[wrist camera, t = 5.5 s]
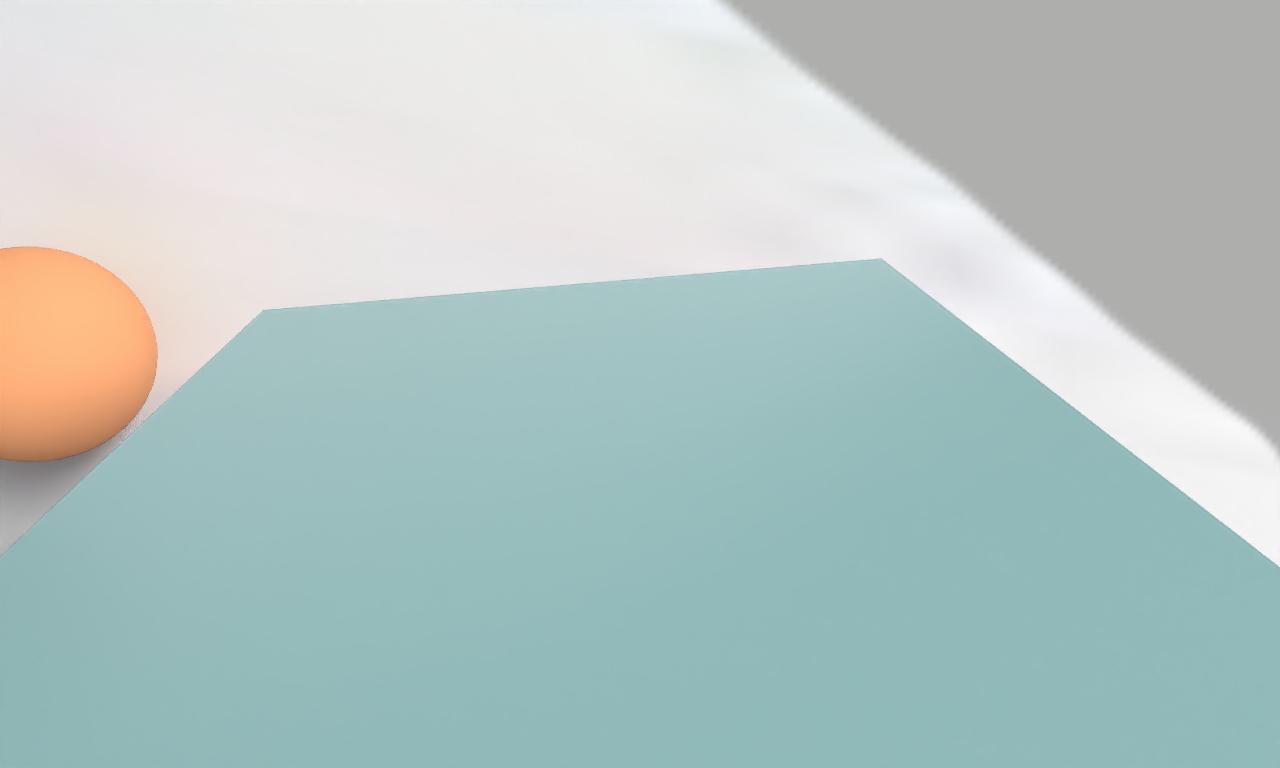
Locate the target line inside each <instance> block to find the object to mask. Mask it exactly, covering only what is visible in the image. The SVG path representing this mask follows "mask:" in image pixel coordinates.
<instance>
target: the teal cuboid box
mask: <svg viewBox="0 0 1280 768" xmlns="http://www.w3.org/2000/svg"><path fill="white" fill-rule="evenodd" d="M0 768H1280V567H1279V566H1277V565H1276V564H1275V563H1274V562H1272V561H1271V560H1270V559H1268V558H1267V557H1266V556H1264V555H1263V554H1262V553H1261V552H1259V551H1258V550H1257V549H1255V548H1254V547H1253V546H1252V545H1250V544H1249V543H1248V542H1246V541H1245V540H1244V539H1243V538H1241V537H1240V536H1239V535H1237V534H1236V533H1235V532H1234V531H1232V530H1231V529H1230V528H1228V527H1227V526H1226V525H1224V524H1223V523H1222V522H1221V521H1219V520H1218V519H1217V518H1215V517H1214V516H1213V515H1212V514H1210V513H1209V512H1208V511H1206V510H1205V509H1204V508H1203V507H1201V506H1200V505H1199V504H1197V503H1196V502H1195V501H1194V500H1192V499H1191V498H1190V497H1188V496H1187V495H1186V494H1184V493H1183V492H1182V491H1181V490H1179V489H1178V488H1177V487H1175V486H1174V485H1173V484H1172V483H1170V482H1169V481H1168V480H1166V479H1165V478H1164V477H1163V476H1161V475H1160V474H1159V473H1157V472H1156V471H1155V470H1154V469H1152V468H1151V467H1150V466H1148V465H1147V464H1146V463H1144V462H1143V461H1142V460H1141V459H1139V458H1138V457H1137V456H1135V455H1134V454H1133V453H1132V452H1130V451H1129V450H1128V449H1126V448H1125V447H1124V446H1123V445H1121V444H1120V443H1119V442H1117V441H1116V440H1115V439H1114V438H1112V437H1111V436H1110V435H1108V434H1107V433H1106V432H1104V431H1103V430H1102V429H1101V428H1099V427H1098V426H1097V425H1095V424H1094V423H1093V422H1092V421H1090V420H1089V419H1088V418H1086V417H1085V416H1084V415H1083V414H1081V413H1080V412H1079V411H1077V410H1076V409H1075V408H1074V407H1072V406H1071V405H1070V404H1068V403H1067V402H1066V401H1064V400H1063V399H1062V398H1061V397H1059V396H1058V395H1057V394H1055V393H1054V392H1053V391H1052V390H1050V389H1049V388H1048V387H1046V386H1045V385H1044V384H1043V383H1041V382H1040V381H1039V380H1037V379H1036V378H1035V377H1034V376H1032V375H1031V374H1030V373H1028V372H1027V371H1026V370H1024V369H1023V368H1022V367H1021V366H1019V365H1018V364H1017V363H1015V362H1014V361H1013V360H1012V359H1010V358H1009V357H1008V356H1006V355H1005V354H1004V353H1003V352H1001V351H1000V350H999V349H997V348H996V347H995V346H993V345H992V344H991V343H990V342H988V341H987V340H986V339H984V338H983V337H982V336H981V335H979V334H978V333H977V332H975V331H974V330H973V329H972V328H970V327H969V326H968V325H966V324H965V323H964V322H963V321H961V320H960V319H959V318H957V317H956V316H955V315H953V314H952V313H951V312H950V311H948V310H947V309H946V308H944V307H943V306H942V305H941V304H939V303H938V302H937V301H935V300H934V299H933V298H932V297H930V296H929V295H928V294H926V293H925V292H924V291H923V290H921V289H920V288H919V287H917V286H916V285H915V284H913V283H912V282H911V281H910V280H908V279H907V278H906V277H904V276H903V275H902V274H901V273H899V272H898V271H897V270H895V269H894V268H893V267H892V266H890V265H889V264H888V263H886V262H885V261H884V260H883V259H872V260H860V261H848V262H836V263H824V264H812V265H800V266H788V267H776V268H764V269H752V270H740V271H728V272H716V273H704V274H692V275H680V276H668V277H656V278H644V279H632V280H620V281H608V282H596V283H584V284H572V285H560V286H548V287H536V288H524V289H512V290H500V291H488V292H476V293H464V294H452V295H440V296H428V297H416V298H404V299H392V300H380V301H368V302H356V303H344V304H332V305H320V306H308V307H296V308H284V309H272V310H263V311H262V312H261V313H260V314H259V315H258V316H257V317H256V318H254V319H253V320H252V321H251V322H250V323H249V324H248V325H247V326H246V327H245V328H244V329H243V330H242V331H241V332H240V333H238V334H237V335H236V336H235V337H234V338H233V339H232V340H231V341H230V342H229V343H228V344H227V345H226V346H225V347H223V348H222V349H221V350H220V351H219V352H218V353H217V354H216V355H215V356H214V357H213V358H212V359H211V360H210V361H209V362H207V363H206V364H205V365H204V366H203V367H202V368H201V369H200V370H199V371H198V372H197V373H196V374H195V375H194V376H192V377H191V378H190V379H189V380H188V381H187V382H186V383H185V384H184V385H183V386H182V387H181V388H180V389H179V390H178V391H176V392H175V393H174V394H173V395H172V396H171V397H170V398H169V399H168V400H167V401H166V402H165V403H164V404H163V405H161V406H160V407H159V408H158V409H157V410H156V411H155V412H154V413H153V414H152V415H151V416H150V417H149V418H148V419H147V420H145V421H144V422H143V423H142V424H141V425H140V426H139V427H138V428H137V429H136V430H135V431H134V432H133V433H132V434H130V435H129V436H128V437H127V438H126V439H125V440H124V441H123V442H122V443H121V444H120V445H119V446H118V447H117V448H116V449H114V450H113V451H112V452H111V453H110V454H109V455H108V456H107V457H106V458H105V459H104V460H103V461H102V462H101V463H99V464H98V465H97V466H96V467H95V468H94V469H93V470H92V471H91V472H90V473H89V474H88V475H87V476H86V477H85V478H83V479H82V480H81V481H80V482H79V483H78V484H77V485H76V486H75V487H74V488H73V489H72V490H71V491H70V492H68V493H67V494H66V495H65V496H64V497H63V498H62V499H61V500H60V501H59V502H58V503H57V504H56V505H55V506H54V507H52V508H51V509H50V510H49V511H48V512H47V513H46V514H45V515H44V516H43V517H42V518H41V519H40V520H39V521H38V522H36V523H35V524H34V525H33V526H32V527H31V528H30V529H29V530H28V531H27V532H26V533H25V534H24V535H23V536H21V537H20V538H19V539H18V540H17V541H16V542H15V543H14V544H13V545H12V546H11V547H10V548H9V549H8V550H7V551H5V552H4V553H3V554H2V555H1V556H0Z"/></svg>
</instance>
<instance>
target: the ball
mask: <svg viewBox="0 0 1280 768" xmlns="http://www.w3.org/2000/svg"><path fill="white" fill-rule="evenodd" d="M157 358H158V356H157V343H156V338H155V333H154V330H153V327H152V324H151V321H150V319H149V317H148V315H147V312H146V310H145V309H144V307H143V305H142V304H141V302H140V301H139V299H138V298H137V297H136V296H135V294H134V293H133V292H132V291H131V289H130V288H128V287H127V286H126V285H125V284H124V283H123V282H122V281H121V280H120V279H119V278H117V277H116V276H115V275H114V274H112V273H111V272H109V271H108V270H106V269H105V268H103V267H101V266H100V265H98V264H96V263H94V262H92V261H90V260H88V259H86V258H84V257H81V256H78V255H75V254H72V253H69V252H65V251H61V250H56V249H51V248H42V247H12V248H4V249H0V458H1V459H6V460H12V461H23V462H33V461H50V460H58V459H62V458H67V457H70V456H74V455H78V454H81V453H83V452H85V451H88V450H90V449H93V448H95V447H97V446H99V445H101V444H102V443H104V442H106V441H108V440H109V439H111V438H112V437H113V436H115V435H116V434H117V433H119V432H120V431H121V430H122V429H123V428H125V427H126V426H127V425H128V424H129V422H130V421H131V420H132V419H133V418H134V417H135V416H136V415H137V413H138V412H139V411H140V409H141V408H142V406H143V405H144V403H145V401H146V399H147V397H148V395H149V393H150V390H151V388H152V386H153V383H154V379H155V375H156V368H157Z"/></svg>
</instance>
